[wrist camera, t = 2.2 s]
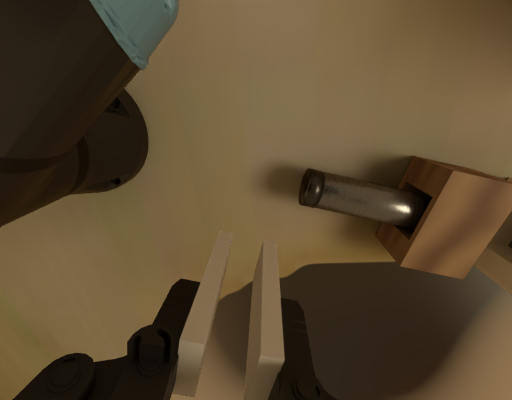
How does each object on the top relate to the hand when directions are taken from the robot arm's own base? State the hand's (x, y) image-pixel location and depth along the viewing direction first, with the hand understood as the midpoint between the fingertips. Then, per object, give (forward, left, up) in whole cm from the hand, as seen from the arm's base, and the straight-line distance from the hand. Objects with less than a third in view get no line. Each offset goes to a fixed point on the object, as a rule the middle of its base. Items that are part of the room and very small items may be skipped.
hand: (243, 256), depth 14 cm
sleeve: (+23, 0, -19) cm, 30 cm away
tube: (+17, 0, -18) cm, 25 cm away
